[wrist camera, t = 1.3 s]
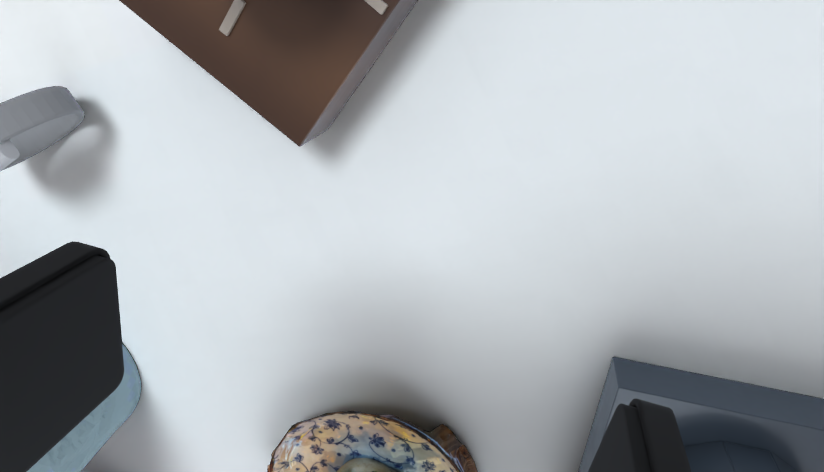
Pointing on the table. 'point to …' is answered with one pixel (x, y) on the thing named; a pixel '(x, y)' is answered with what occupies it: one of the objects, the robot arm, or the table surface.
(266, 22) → the timer panel
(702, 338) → the table surface
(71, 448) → the blue-grey cup
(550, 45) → the table surface
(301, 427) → the burger
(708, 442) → the button block
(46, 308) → the robot arm
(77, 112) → the wristwatch
